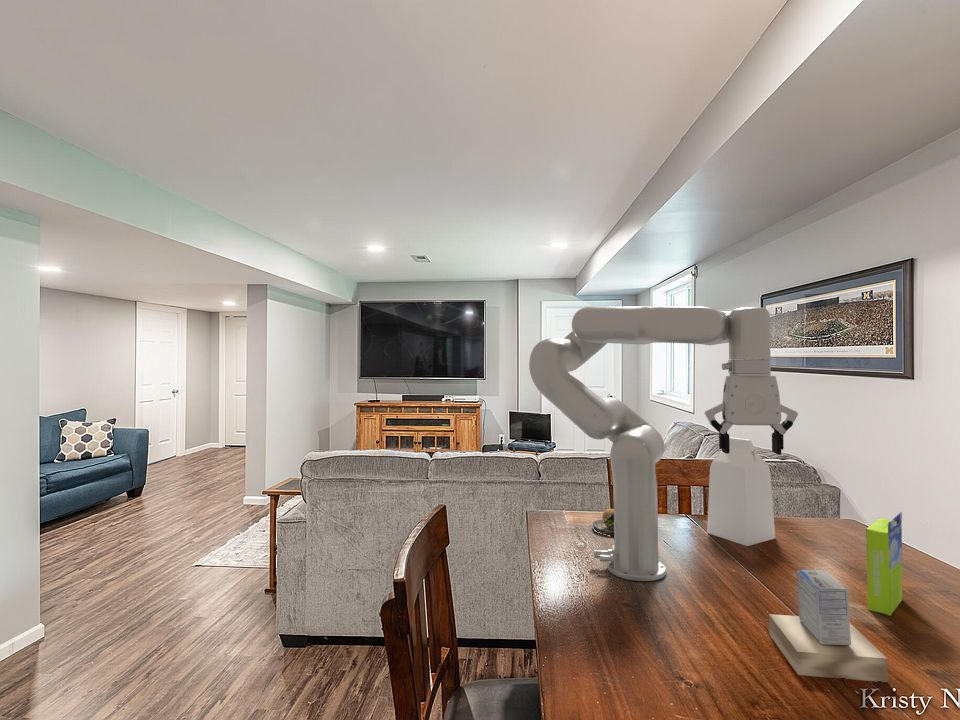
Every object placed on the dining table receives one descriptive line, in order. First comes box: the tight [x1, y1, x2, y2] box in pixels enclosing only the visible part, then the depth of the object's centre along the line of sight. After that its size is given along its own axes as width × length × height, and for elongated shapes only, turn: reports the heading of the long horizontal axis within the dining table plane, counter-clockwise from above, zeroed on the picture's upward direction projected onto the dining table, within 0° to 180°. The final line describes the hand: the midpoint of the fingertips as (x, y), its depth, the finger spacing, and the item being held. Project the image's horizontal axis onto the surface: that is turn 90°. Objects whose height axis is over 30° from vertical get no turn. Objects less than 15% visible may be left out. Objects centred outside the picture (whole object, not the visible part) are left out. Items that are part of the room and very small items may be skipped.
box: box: [865, 511, 903, 617], centre depth 102 cm, size 10×4×17 cm, turn 132°
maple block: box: [768, 613, 889, 683], centre depth 85 cm, size 12×12×4 cm
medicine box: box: [796, 569, 851, 646], centre depth 85 cm, size 8×4×9 cm, turn 170°
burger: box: [592, 503, 614, 537], centre depth 149 cm, size 12×12×8 cm
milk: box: [706, 436, 776, 547], centre depth 143 cm, size 12×12×26 cm
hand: (750, 452), depth 108 cm, fingers open, 9 cm apart
